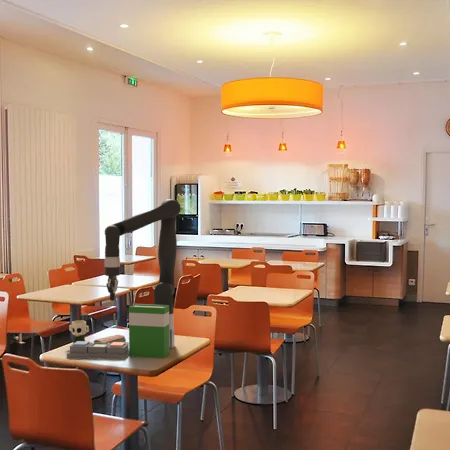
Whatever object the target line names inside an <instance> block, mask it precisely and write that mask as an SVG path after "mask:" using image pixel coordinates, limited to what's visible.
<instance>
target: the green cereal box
mask: <svg viewBox="0 0 450 450" xmlns="http://www.w3.org/2000/svg"><path fill="white" fill-rule="evenodd" d="M128 335H129V336H128V343H129V355H128V357H137V358H149V359H151V358H152V359H166V358H167V357H168V356H169V355H170V348H169V305H154V304H152V303H151V304H147V303H146V304H145V303H134V304H133V305H129V306H128Z"/></svg>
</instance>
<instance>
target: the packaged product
mask: <svg viewBox="0 0 450 450" xmlns="http://www.w3.org/2000/svg"><path fill="white" fill-rule="evenodd" d="M113 342H125V343H129V341H128V342H127V341H126V336H125V335H122V334H114V335H110V336H106V337H102V338H101V337H100V338H97V339H94V340H93V343H110V344H111V343H113Z"/></svg>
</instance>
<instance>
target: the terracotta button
mask: <svg viewBox="0 0 450 450" xmlns="http://www.w3.org/2000/svg"><path fill="white" fill-rule="evenodd" d="M125 342H126V341H125ZM125 342H113V343H112V344H110V347H123V346H125Z"/></svg>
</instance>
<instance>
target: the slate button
mask: <svg viewBox="0 0 450 450" xmlns="http://www.w3.org/2000/svg"><path fill="white" fill-rule="evenodd" d="M89 342H90V341H88V340H85V341H77V342H75V343H74V344H73V343H72V344H73V346H87V345H88V344H89Z"/></svg>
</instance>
